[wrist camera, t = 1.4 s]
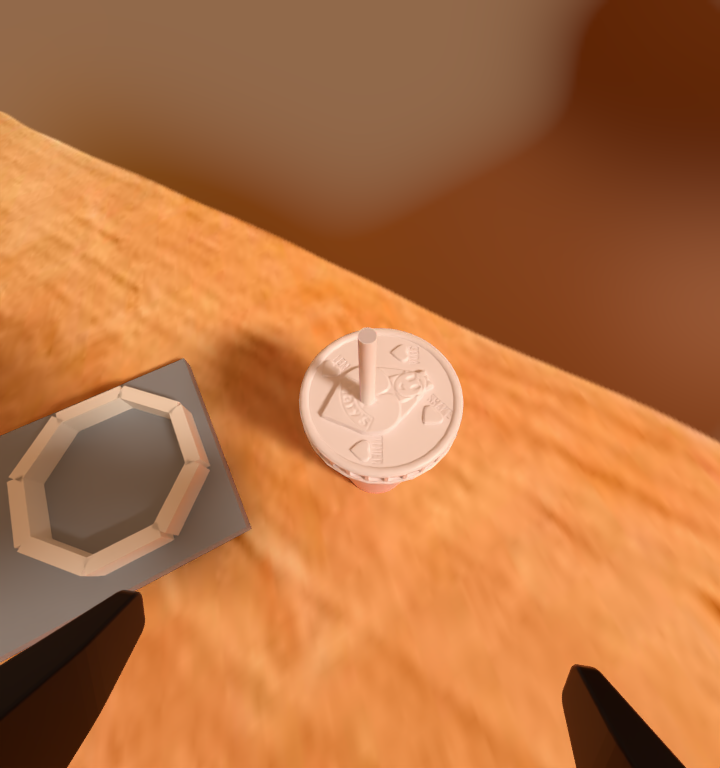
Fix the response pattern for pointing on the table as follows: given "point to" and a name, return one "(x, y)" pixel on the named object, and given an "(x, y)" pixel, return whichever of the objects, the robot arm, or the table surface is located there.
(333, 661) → the table surface
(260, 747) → the table surface
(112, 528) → the board
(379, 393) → the smoothie
